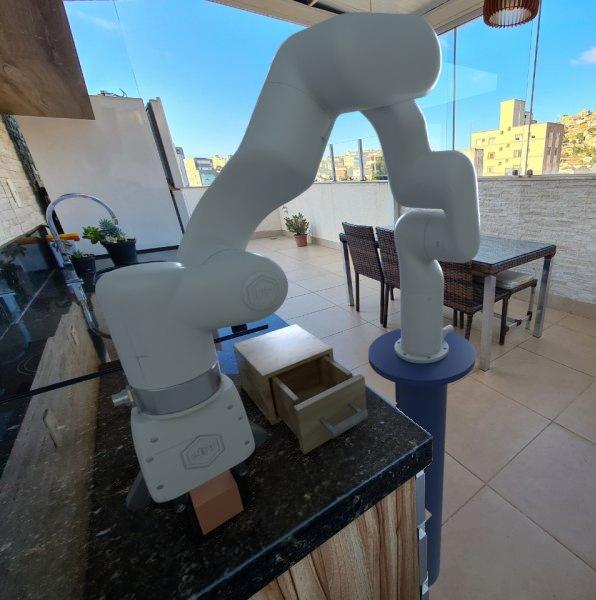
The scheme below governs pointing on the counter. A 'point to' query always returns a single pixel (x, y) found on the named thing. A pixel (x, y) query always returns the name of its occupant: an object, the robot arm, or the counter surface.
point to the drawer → (319, 400)
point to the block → (216, 501)
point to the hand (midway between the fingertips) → (218, 507)
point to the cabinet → (274, 361)
